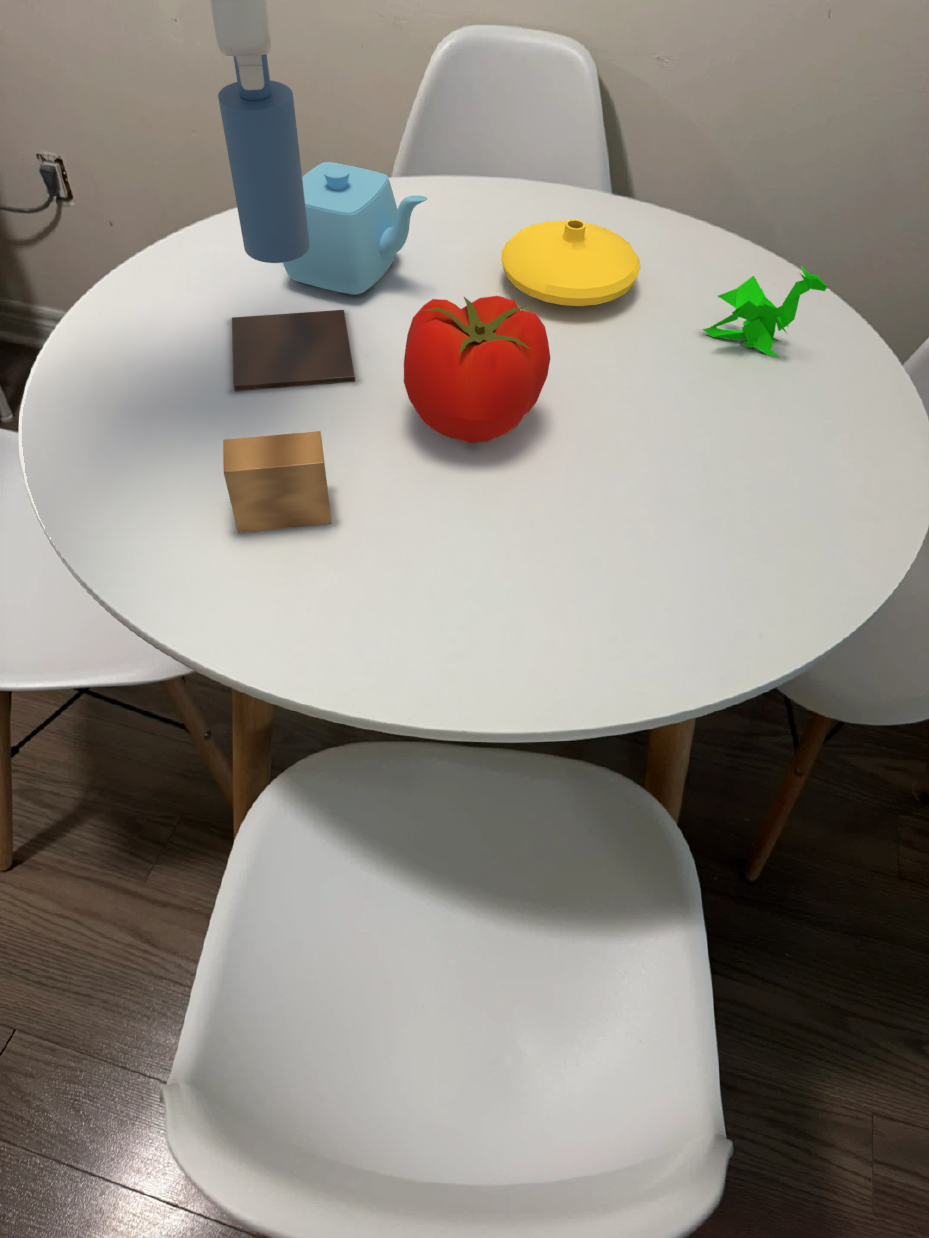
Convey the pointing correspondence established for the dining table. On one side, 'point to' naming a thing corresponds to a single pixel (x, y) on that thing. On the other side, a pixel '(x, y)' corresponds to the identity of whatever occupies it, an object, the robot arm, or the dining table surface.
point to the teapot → (350, 228)
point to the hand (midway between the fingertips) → (252, 76)
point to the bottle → (265, 168)
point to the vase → (570, 263)
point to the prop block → (277, 481)
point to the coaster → (291, 350)
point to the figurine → (762, 312)
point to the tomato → (475, 366)
